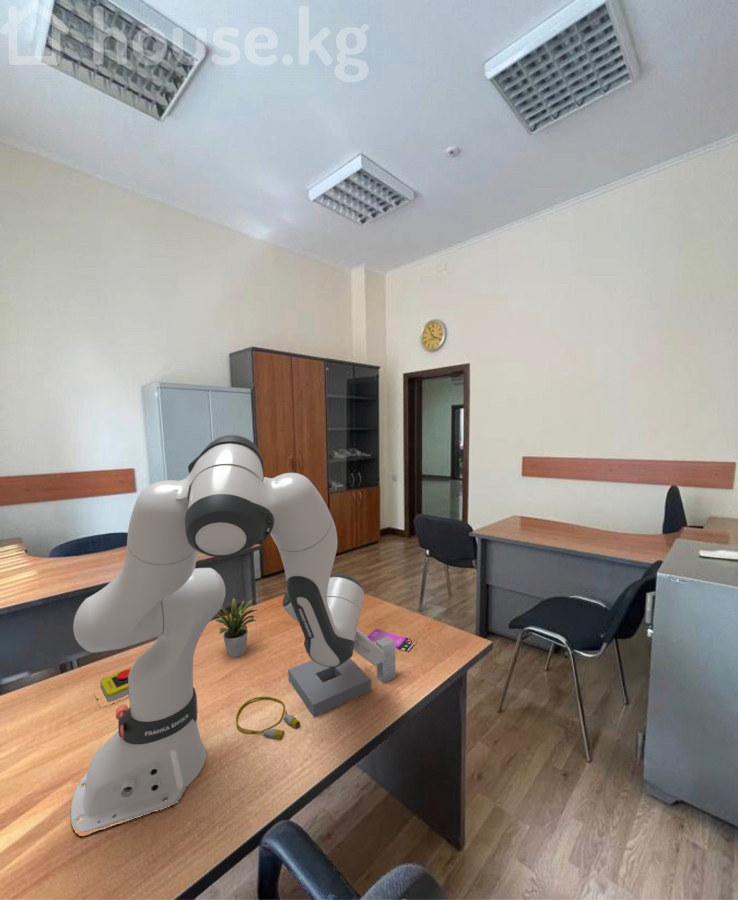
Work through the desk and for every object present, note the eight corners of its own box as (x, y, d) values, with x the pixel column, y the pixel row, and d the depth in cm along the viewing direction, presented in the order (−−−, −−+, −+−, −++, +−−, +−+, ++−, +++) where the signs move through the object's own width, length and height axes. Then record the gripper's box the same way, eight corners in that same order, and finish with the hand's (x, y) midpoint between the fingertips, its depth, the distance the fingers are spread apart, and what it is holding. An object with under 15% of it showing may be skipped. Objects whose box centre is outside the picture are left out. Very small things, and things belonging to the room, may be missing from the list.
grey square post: (383, 683, 102) (382, 646, 101) (376, 677, 104) (375, 641, 104) (396, 677, 104) (395, 641, 103) (389, 671, 107) (388, 636, 106)
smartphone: (408, 655, 115) (408, 652, 115) (365, 640, 123) (364, 637, 123) (418, 643, 121) (418, 640, 121) (376, 629, 129) (376, 627, 129)
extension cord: (247, 758, 81) (247, 749, 80) (230, 711, 94) (229, 704, 94) (303, 732, 87) (302, 723, 87) (279, 692, 100) (278, 684, 100)
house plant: (239, 674, 107) (236, 616, 106) (199, 665, 112) (196, 610, 111) (269, 645, 121) (266, 594, 120) (231, 638, 125) (229, 589, 124)
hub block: (313, 717, 91) (313, 704, 90) (288, 680, 104) (288, 669, 104) (371, 690, 99) (371, 679, 99) (341, 659, 113) (341, 649, 112)
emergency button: (91, 677, 101) (154, 652, 112) (93, 693, 102) (155, 667, 112) (100, 694, 95) (166, 665, 106) (101, 711, 95) (167, 681, 106)
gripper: (366, 630, 87) (403, 658, 92) (326, 598, 104) (359, 622, 110) (349, 657, 85) (388, 683, 90) (311, 619, 102) (346, 643, 108)
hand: (372, 649), depth 100 cm, fingers open, 8 cm apart
